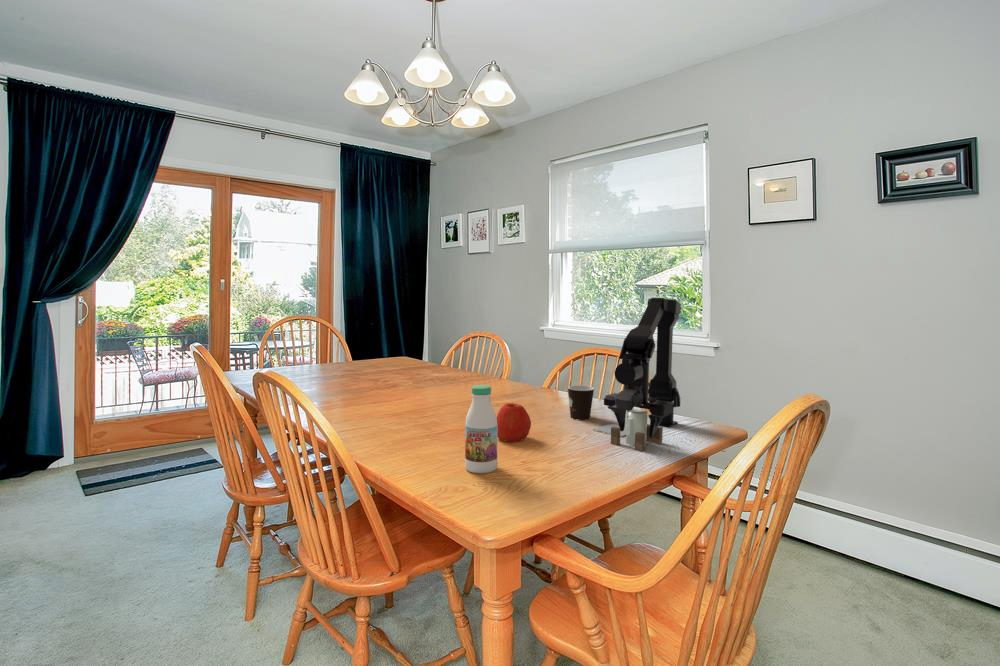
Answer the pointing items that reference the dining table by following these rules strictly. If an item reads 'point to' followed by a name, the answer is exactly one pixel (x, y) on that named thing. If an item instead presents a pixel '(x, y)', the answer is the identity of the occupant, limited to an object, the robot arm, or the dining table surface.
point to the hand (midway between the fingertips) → (636, 434)
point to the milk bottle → (481, 432)
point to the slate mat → (608, 429)
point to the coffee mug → (580, 401)
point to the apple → (513, 423)
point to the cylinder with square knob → (635, 425)
